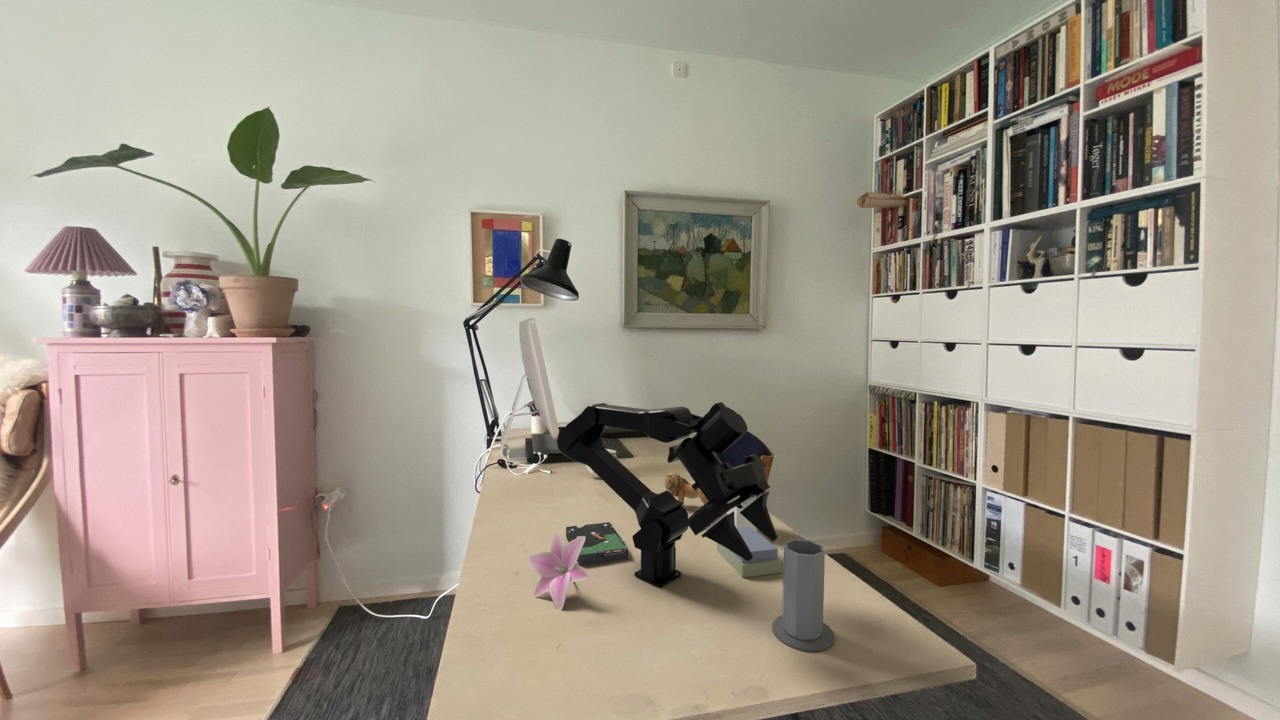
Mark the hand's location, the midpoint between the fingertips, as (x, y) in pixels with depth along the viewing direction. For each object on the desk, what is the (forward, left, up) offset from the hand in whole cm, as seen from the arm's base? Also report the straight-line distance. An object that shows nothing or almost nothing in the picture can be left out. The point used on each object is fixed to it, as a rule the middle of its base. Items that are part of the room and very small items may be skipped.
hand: (763, 549), depth 79 cm
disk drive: (-1, +39, -12) cm, 40 cm away
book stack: (+15, +12, -11) cm, 22 cm away
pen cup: (0, -7, -11) cm, 13 cm away
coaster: (0, -7, -11) cm, 13 cm away
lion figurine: (+30, +37, -11) cm, 50 cm away
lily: (-18, +29, -11) cm, 36 cm away
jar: (+27, +21, -11) cm, 36 cm away
